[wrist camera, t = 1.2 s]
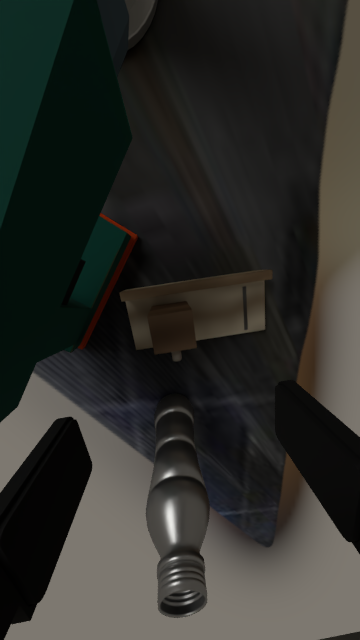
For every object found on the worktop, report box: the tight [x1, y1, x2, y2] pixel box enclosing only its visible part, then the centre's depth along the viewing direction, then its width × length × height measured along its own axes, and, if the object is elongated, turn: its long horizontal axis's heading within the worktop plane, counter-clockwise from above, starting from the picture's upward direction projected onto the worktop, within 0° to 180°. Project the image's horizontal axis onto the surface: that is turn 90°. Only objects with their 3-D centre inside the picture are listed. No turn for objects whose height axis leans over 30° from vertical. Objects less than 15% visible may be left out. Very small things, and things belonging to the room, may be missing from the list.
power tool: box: [0, 0, 138, 422], centre depth 15 cm, size 32×7×20 cm, turn 150°
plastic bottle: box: [146, 394, 210, 618], centre depth 23 cm, size 6×7×20 cm
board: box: [119, 270, 272, 350], centre depth 26 cm, size 9×20×4 cm, turn 98°
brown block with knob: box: [147, 301, 197, 361], centre depth 24 cm, size 6×5×6 cm
